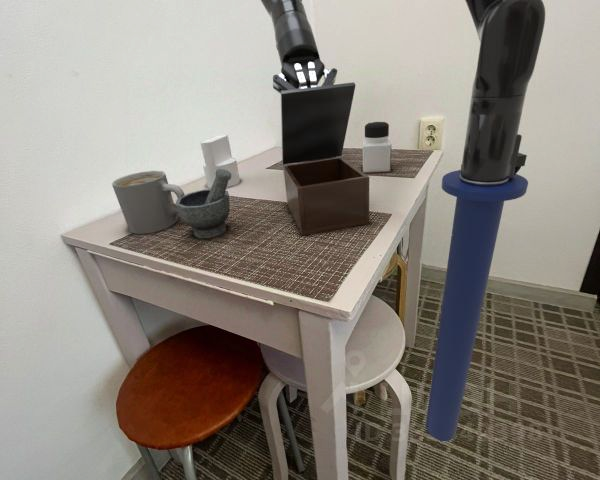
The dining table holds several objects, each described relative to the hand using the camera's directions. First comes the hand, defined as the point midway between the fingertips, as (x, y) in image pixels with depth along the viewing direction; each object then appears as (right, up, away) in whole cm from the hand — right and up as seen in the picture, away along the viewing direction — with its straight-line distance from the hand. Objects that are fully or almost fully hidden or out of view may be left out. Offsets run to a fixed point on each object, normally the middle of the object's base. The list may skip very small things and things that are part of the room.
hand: (315, 117), depth 60 cm
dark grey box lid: (0, -2, +1) cm, 2 cm away
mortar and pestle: (-19, -21, +4) cm, 29 cm away
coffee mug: (-32, -19, +10) cm, 39 cm away
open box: (+2, -17, +6) cm, 18 cm away
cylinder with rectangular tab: (-24, -7, +31) cm, 40 cm away
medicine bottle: (+18, -3, +30) cm, 35 cm away
